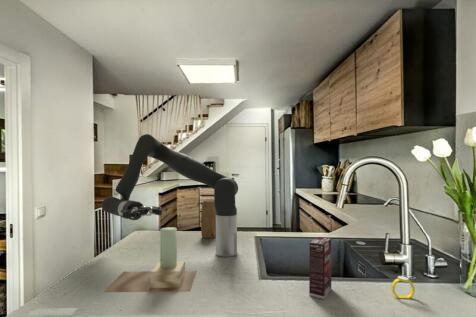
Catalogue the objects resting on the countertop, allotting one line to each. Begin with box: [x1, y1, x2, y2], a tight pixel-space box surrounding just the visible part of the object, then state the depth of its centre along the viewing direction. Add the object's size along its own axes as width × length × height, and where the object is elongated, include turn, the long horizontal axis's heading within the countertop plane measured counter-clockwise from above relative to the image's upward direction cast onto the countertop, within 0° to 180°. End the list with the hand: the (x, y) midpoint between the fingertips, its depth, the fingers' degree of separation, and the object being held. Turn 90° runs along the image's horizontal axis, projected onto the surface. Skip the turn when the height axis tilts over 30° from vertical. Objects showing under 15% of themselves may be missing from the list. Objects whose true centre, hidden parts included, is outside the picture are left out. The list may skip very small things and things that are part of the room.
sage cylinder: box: [159, 226, 178, 269], centre depth 92 cm, size 5×5×12 cm
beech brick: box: [150, 260, 186, 288], centre depth 92 cm, size 9×9×5 cm
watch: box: [390, 275, 416, 300], centre depth 83 cm, size 6×3×6 cm, turn 84°
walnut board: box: [103, 270, 197, 293], centre depth 93 cm, size 26×16×1 cm, turn 91°
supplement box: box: [308, 236, 332, 300], centre depth 87 cm, size 9×5×16 cm, turn 148°
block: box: [200, 198, 216, 239], centre depth 154 cm, size 11×8×20 cm
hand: (150, 214), depth 105 cm, fingers open, 8 cm apart
